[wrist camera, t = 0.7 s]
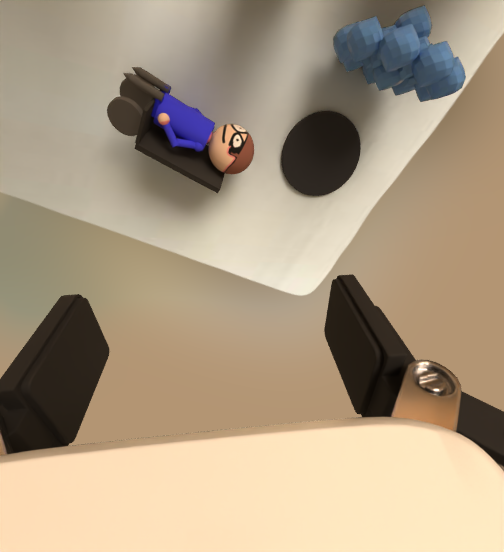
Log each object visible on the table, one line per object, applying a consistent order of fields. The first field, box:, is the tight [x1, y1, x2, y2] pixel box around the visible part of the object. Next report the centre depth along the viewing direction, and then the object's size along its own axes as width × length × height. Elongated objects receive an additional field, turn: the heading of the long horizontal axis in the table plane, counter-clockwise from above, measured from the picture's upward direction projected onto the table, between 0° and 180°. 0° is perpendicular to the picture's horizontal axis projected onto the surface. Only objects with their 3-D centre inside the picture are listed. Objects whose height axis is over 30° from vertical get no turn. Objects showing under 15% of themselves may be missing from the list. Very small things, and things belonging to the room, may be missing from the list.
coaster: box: [282, 111, 360, 196], centre depth 37 cm, size 10×10×1 cm
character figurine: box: [107, 67, 254, 193], centre depth 31 cm, size 8×7×15 cm
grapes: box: [333, 5, 466, 102], centre depth 27 cm, size 12×7×12 cm, turn 68°
